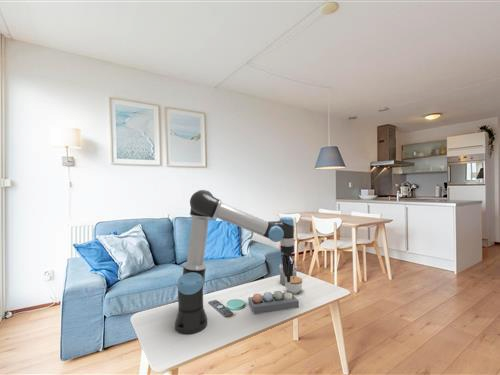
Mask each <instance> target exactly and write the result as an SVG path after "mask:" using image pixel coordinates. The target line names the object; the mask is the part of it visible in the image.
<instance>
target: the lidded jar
mask: <svg viewBox="0 0 500 375" xmlns="http://www.w3.org/2000/svg"><path fill="white" fill-rule="evenodd" d="M302 278H303V277H300V276H297V275H296V276H291V287H290V288H286V287H285V288H286V291H287V292H291V293H292V294H293V295H296V294H298V293H299V292H300V291H301V290H302V288H303V279H302Z"/></svg>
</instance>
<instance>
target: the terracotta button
mask: <svg viewBox="0 0 500 375" xmlns="http://www.w3.org/2000/svg"><path fill="white" fill-rule="evenodd" d="M261 296H262V294H261V293H254V294H253V295H252V297H253V302H254V303H256V304H259V303H261Z"/></svg>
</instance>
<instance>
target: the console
mask: <svg viewBox="0 0 500 375" xmlns="http://www.w3.org/2000/svg"><path fill="white" fill-rule="evenodd" d="M285 293H291V292H289V291H287V292H286V291H285V292H282V300H280V301H277V300H275V299H274V293H272V301H271V302H265V301H264V294H263V295H261V303H259V304H256V303H254V302H253V296H249V297H248V305H249V307H250V309H251V311H252V313H253V314H254V315H256V314H257V315H258V314H259V315H260V314H264V313H271V312H277V311H283V310H290V309H296V308H299V307H300V301H299V300H298V298H297V297H296V296H295V294H292V293H291V294H292V299H285V298H284V294H285Z"/></svg>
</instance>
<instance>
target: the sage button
mask: <svg viewBox="0 0 500 375" xmlns="http://www.w3.org/2000/svg"><path fill="white" fill-rule="evenodd" d="M282 293H283V292H282V291H281V290H275V291H274V292H273V294H274V299H275V300H277V301H280V300H282Z"/></svg>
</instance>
